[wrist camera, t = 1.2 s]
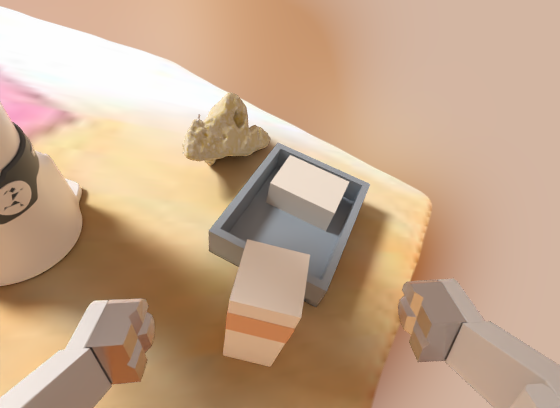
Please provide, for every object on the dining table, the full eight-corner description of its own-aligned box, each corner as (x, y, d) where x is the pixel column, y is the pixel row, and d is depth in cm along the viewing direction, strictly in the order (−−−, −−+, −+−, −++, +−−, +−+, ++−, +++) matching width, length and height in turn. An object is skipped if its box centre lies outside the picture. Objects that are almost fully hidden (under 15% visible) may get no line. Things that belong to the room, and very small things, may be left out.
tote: (208, 251, 44) (208, 230, 40) (273, 164, 56) (277, 142, 52) (315, 307, 42) (326, 291, 38) (358, 204, 54) (370, 184, 50)
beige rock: (248, 130, 64) (183, 84, 54) (275, 118, 59) (210, 65, 49) (233, 201, 58) (158, 165, 48) (262, 194, 54) (186, 152, 44)
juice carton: (222, 355, 36) (228, 300, 24) (235, 307, 40) (246, 238, 27) (270, 367, 36) (301, 318, 24) (279, 318, 40) (310, 254, 28)
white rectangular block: (265, 202, 49) (270, 182, 46) (284, 174, 54) (290, 154, 50) (325, 231, 48) (334, 213, 45) (340, 200, 52) (349, 181, 49)
